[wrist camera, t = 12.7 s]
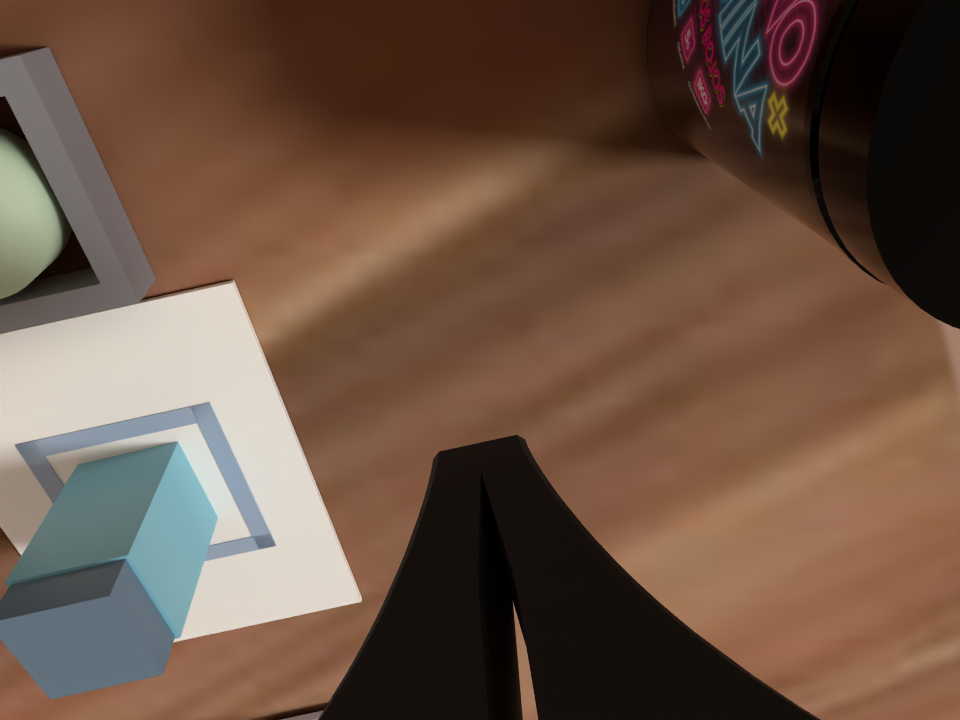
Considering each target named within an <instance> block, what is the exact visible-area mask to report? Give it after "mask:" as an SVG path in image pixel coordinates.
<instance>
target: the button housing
mask: <svg viewBox="0 0 960 720" xmlns="http://www.w3.org/2000/svg"><path fill="white" fill-rule="evenodd" d="M3 96H5V97H6V99H7V101H8V103H9V105H10V107H11V109H12V111H13V113H14V115H15V117H16V119H17V121H18V123H19V125H20V126H21V128H22V130H23V132H24V134H25V136H26V138H27V140H28V142H29V144H30V146H31V148H32V150H33V152H34V154H35V156H36V158H37V160H38V162H39V164H40V166H41V168H42V170H43V172H44V174H45V176H46V178H47V180H48V182H49V184H50V186H51V188H52V190H53V191H54V193H55V195H56V197H57V199H58V201H59V203H60V205H61V207H62V209H63V211H64V213H65V215H66V217H67V219H68V221H69V223H70V225H71V227H72V229H73V231H74V233H75V235H76V237H77V239H78V241H79V243H80V245H81V247H82V249H83V251H84V253H85V255H86V256H87V258H88V260H89V262H90V264H91V266H92V268H88V269H83V270H79V271H74V272H70V273H65V274H61V275H56V276H52V277H47V278H43V279H38V280H34V281H32V282H30V283H29V284H28V285H27V286H26V287H25V288H23V289H22V290H20V291H19V292H17V293H15V294H13V295H10V296H8V297H5V298H2V299H0V333H4V332H8V331H13V330H17V329H22V328H26V327H31V326H35V325H40V324H44V323H49V322H53V321H58V320H62V319H67V318H72V317H76V316H81V315H85V314H90V313H94V312H99V311H103V310H108V309H112V308H117V307H121V306H126V305H130V304H135V303H139V302H140V301H141V300H142V298H143V297H144V295H145V294H146V293H147V291H148V290H149V289H150V287H151V286H152V284H153V283H154V282H155V280H156V277H155V275H154V273H153V271H152V269H151V267H150V264H149V262H148V260H147V258H146V256H145V254H144V252H143V249H142V247H141V245H140V243H139V241H138V239H137V236H136V234H135V232H134V230H133V228H132V226H131V223H130V221H129V219H128V217H127V215H126V213H125V210H124V208H123V206H122V204H121V202H120V200H119V197H118V195H117V193H116V191H115V189H114V187H113V184H112V182H111V180H110V178H109V176H108V174H107V172H106V169H105V167H104V165H103V163H102V161H101V159H100V156H99V154H98V152H97V150H96V148H95V146H94V143H93V141H92V139H91V137H90V135H89V133H88V130H87V128H86V126H85V124H84V122H83V120H82V117H81V115H80V113H79V111H78V109H77V107H76V104H75V102H74V100H73V98H72V96H71V94H70V92H69V89H68V87H67V85H66V83H65V81H64V79H63V76H62V74H61V72H60V70H59V68H58V66H57V63H56V61H55V59H54V57H53V55H52V53H51V50H50V48H49V47H46V48H41V49H37V50H32V51H28V52H24V53H19V54H15V55H10V56H6V57H1V58H0V97H3Z"/></svg>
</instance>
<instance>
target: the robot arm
mask: <svg viewBox="0 0 960 720" xmlns="http://www.w3.org/2000/svg"><path fill="white" fill-rule="evenodd" d="M513 603H514V606H515V610H516V613H517V617H518V620H519V623H520V627H521V630H522V634H523V637H524V641H525V644H526V648H527V653H528V659H529V665H530V671H531V677H532V683H533V689H534V695H535V701H536V708H537V714H538V720H820V719H819V718H817V717H815V716H814V715H812V714H810V713H809V712H807V711H806V710H804V709H802V708H801V707H799V706H798V705H796V704H795V703H793V702H792V701H790V700H789V699H787V698H786V697H784V696H783V695H781V694H780V693H778V692H777V691H775V690H774V689H772V688H771V687H769V686H768V685H766V684H765V683H763V682H762V681H760V680H759V679H757V678H756V677H754V676H753V675H752V674H750V673H749V672H748V671H746V670H745V669H744V668H742V667H741V666H740V665H738V664H737V663H736V662H734V661H733V660H732V659H730V658H729V657H727V656H726V655H725V654H723V653H722V652H721V651H719V650H718V649H717V648H715V647H714V646H713V645H711V644H710V643H709V642H707V641H706V640H705V639H703V638H702V637H701V636H699V635H698V634H697V633H695V632H694V631H693V630H692V629H690V628H689V627H688V626H687V625H685V624H684V623H683V622H682V621H681V620H680V619H678V618H677V617H676V616H675V615H674V614H672V613H671V612H670V611H669V610H668V609H667V608H665V607H664V606H663V605H662V604H661V603H660V602H658V601H657V600H656V599H655V598H654V597H653V596H652V595H651V594H650V593H648V592H647V591H646V590H645V589H644V588H643V587H642V586H641V585H640V584H639V583H638V582H636V581H635V580H634V579H633V578H632V577H631V576H630V575H629V574H628V573H627V572H626V571H625V570H624V569H623V568H622V567H621V566H620V565H619V564H618V563H617V562H616V561H615V560H614V559H613V558H612V557H611V556H610V554H609V553H608V552H607V551H606V550H605V549H604V548H603V547H602V546H601V545H600V544H599V543H598V542H597V541H596V540H595V538H594V537H593V536H592V535H591V534H590V533H589V532H588V530H587V529H586V528H585V527H584V526H583V525H582V524H581V522H580V521H579V520H578V519H577V517H576V516H575V515H574V514H573V512H572V511H571V510H570V509H569V508H568V506H567V505H566V504H565V503H564V501H563V500H562V499H561V498H560V496H559V495H558V494H557V492H556V491H555V490H554V488H553V487H552V485H551V484H550V482H549V481H548V480H547V478H546V477H545V475H544V474H543V472H542V471H541V469H540V467H539V466H538V464H537V463H536V461H535V459H534V457H533V456H532V454H531V452H530V450H529V448H528V446H527V443H526V441H525V439H523V438H522V437H520V436H518V435H514V436H509V437H505V438H500V439H495V440H491V441H486V442H481V443H477V444H472V445H468V446H463V447H458V448H454V449H449V450H445V451H440V452H438V454H437V455H436V456H435V458H434V459H433V464H432V470H431V474H430V478H429V483H428V486H427V490H426V494H425V497H424V500H423V504H422V507H421V510H420V513H419V516H418V519H417V522H416V525H415V527H414V530H413V533H412V536H411V539H410V541H409V544H408V547H407V550H406V552H405V555H404V557H403V560H402V562H401V565H400V567H399V569H398V571H397V574H396V576H395V578H394V581H393V583H392V585H391V587H390V590H389V592H388V594H387V597H386V599H385V601H384V603H383V605H382V608H381V610H380V612H379V614H378V616H377V618H376V620H375V622H374V624H373V626H372V628H371V630H370V632H369V634H368V635H367V637H366V639H365V641H364V643H363V645H362V647H361V648H360V650H359V652H358V654H357V656H356V658H355V659H354V661H353V663H352V665H351V666H350V668H349V670H348V672H347V673H346V675H345V677H344V678H343V680H342V681H341V683H340V685H339V686H338V688H337V690H336V691H335V693H334V695H333V696H332V698H331V699H330V701H329V703H328V704H327V706H326V708H325V709H324V710H323V711H318V712H314V713H309V714H304V715H300V716H295V717H290V718H286V719H281V720H523V717H522V705H521V693H520V681H519V669H518V657H517V645H516V633H515V621H514V610H513Z"/></svg>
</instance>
